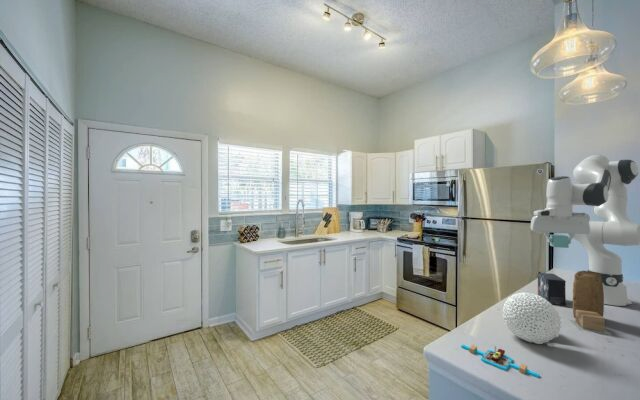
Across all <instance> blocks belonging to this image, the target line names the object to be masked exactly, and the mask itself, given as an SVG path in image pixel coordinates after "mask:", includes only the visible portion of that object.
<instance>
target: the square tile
mask: <svg viewBox="0 0 640 400" xmlns="http://www.w3.org/2000/svg"><path fill="white" fill-rule="evenodd" d="M569 322H570V323H572V324H573V325H574V326H575V327H576V328H577V329H578V330H579V331H586V332H591V333H597V334H603V335H609V336H613V334H612V333H611V332H610V331H608V330H607V329H606V328H605V332H600V331H594V330H588V329H583V328H581V327H580V326H579V325H578V324H577V323H576V320H573V319H569Z"/></svg>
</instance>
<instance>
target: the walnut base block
mask: <svg viewBox="0 0 640 400" xmlns="http://www.w3.org/2000/svg"><path fill="white" fill-rule="evenodd" d="M605 319H606V318H605V317H604V316H603V317H602V316H601V315H599V314H598V313H596V312H591V311H584V310H576V318H575V321H576V323H577V324H578V325H579V326H580V327H581V328H583V329H588V330H594V331H600V332H605V329H606V327H605V324H606V323H605V321H606V320H605Z"/></svg>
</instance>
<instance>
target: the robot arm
mask: <svg viewBox="0 0 640 400" xmlns="http://www.w3.org/2000/svg"><path fill="white" fill-rule="evenodd" d="M638 174H639V167H638V165H637V163H636V162H635V161H634V160H632V159H620V160H615V161H614V160H613V161H609V159H608V157H606V156H605V155H602V154H592V155H590V156H588V157H586V158H584V159H582V160H581V161H580V162H579V163H578V164H577V165H576V166H575V167H574V168H573V172H572V176H573V178H574V180H576V182H578V183H572V178H571V177H570V176H565V175H564V176H563V175H562V176H561V175H560V176H553V177H550V178H549V179H548V180H547V186H546V194H545V196H546V199H547V200H546V201H547V202H546V206H545V207H546V208H541V209H538V210H535V211H533V217H532V218H531V220H530V231H531V232H533V233H543V234H544V236H545V238H546V241H547V243H549V244H550V243H552V242H553V239H551V238H550V235H551V234H550V233H554V234H568V237H569V244H572V240H575V241H577V242H578V243H579V244H580V245H581V246H582V247H583V248H584V249H585V251H586V253H587V259H588V269H587V271H591V272H596V273H600V274H601V276H602V283H603V291H604V305H610V306H618V307H621V306H622V307H624V306H627V305H633V304H632V301H630V300H629V297H628V289H627V286H626V285H625V284H624V283H623V282H624V275H623V273H622V267H623V266H622V265H623V264H622V263H623V262H622V258H621V257H620V256H619V255H618V254H617V253H614V252H612V251H610V250H609V249H606V247H605V246H604V245H614V246H624V247H628V246H630V247H632V246H640V225H639V224H637V223H635V222H633V220H631V219H630V218H629V217H628V215H627V206H628V205H627V204H628V189H627V187H626V185H630V184H631V183H632V181H634V180H635V179H636V178H637V176H638ZM574 206H589V207H594V208H593V214H594V215H595V216H596V217H598V218H599V219H601V220H603V221H601V220H600V221H597V220H591V219H590V217H591V216H590V215H589V214H588V213H586V212H573V211H574V210H573V209H574V208H573V207H574Z"/></svg>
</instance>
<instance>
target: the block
mask: <svg viewBox="0 0 640 400" xmlns="http://www.w3.org/2000/svg"><path fill="white" fill-rule="evenodd" d="M572 286H573V288H572V315H573V318H574V319H576V310H584V311H591V312H596V313H598V314H599V315H601V316H602V317H603V318H604V313H605V312H604V311H605V310H604V309H605V307H604V306H605V304H604V291H603V283H602V276H601V274H600V273H596V272H591V271H588V270H578V271H577V272H576V273H574V279H573V285H572Z"/></svg>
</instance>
